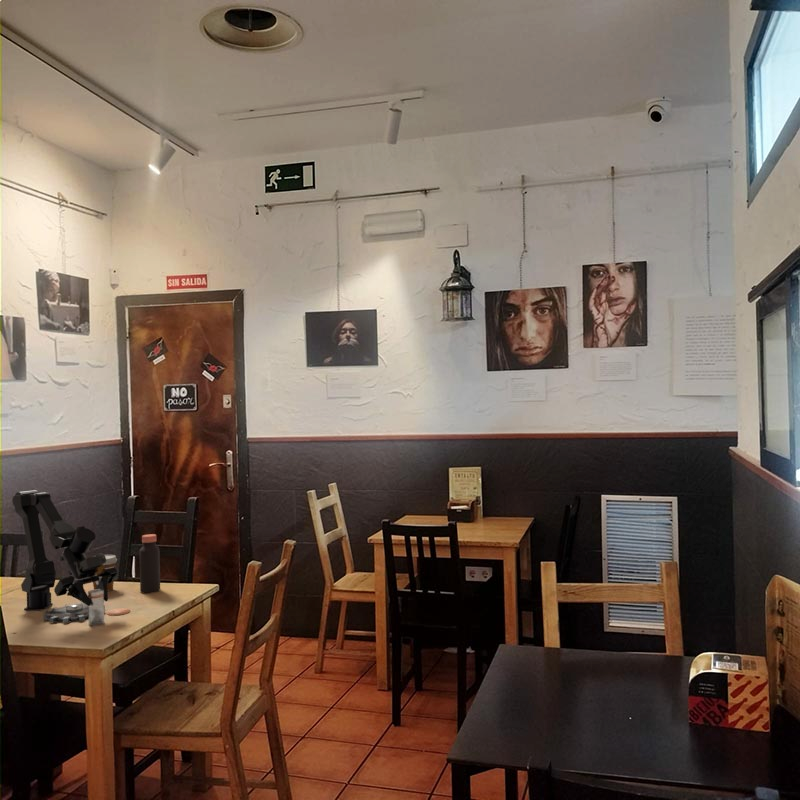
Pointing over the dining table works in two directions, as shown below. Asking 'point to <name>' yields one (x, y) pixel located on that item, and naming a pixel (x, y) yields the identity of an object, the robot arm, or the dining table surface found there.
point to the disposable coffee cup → (109, 563)
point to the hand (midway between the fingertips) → (98, 602)
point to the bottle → (149, 565)
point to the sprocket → (68, 613)
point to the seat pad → (118, 611)
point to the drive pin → (96, 607)
